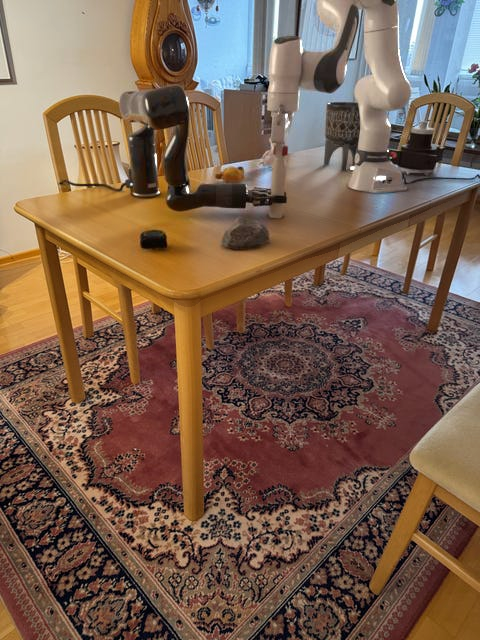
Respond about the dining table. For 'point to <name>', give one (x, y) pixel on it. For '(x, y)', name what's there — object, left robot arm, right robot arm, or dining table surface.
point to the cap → (284, 150)
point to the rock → (245, 234)
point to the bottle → (278, 185)
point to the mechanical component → (418, 152)
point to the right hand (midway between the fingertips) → (279, 155)
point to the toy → (231, 174)
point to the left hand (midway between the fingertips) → (285, 197)
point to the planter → (342, 130)
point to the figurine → (268, 157)
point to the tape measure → (153, 239)
